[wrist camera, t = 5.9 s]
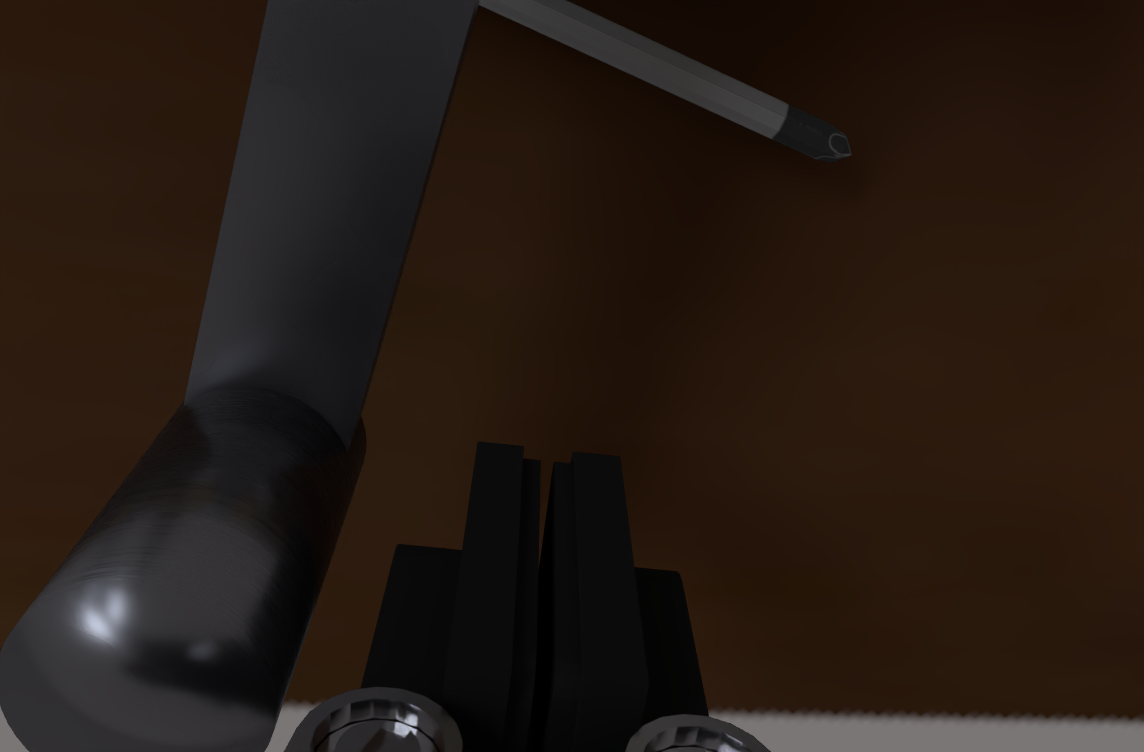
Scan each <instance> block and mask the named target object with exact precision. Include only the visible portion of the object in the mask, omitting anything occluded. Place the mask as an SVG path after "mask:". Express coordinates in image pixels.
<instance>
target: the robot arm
mask: <svg viewBox="0 0 1144 752" xmlns="http://www.w3.org/2000/svg"><path fill="white" fill-rule="evenodd" d="M523 451H524V446H515V445H506V444H496V443H487V442H478V444H477V450H476V457H475V464H474V471H473V478H472V485H471V492H470V499H469V506H468V513H467V520H466V527H465V534H464V541H463V548H462V550H454V549H444V548H434V547H424V546H414V545H404V544H398V545H397V547H396V550H395V553H394V557H393V561H392V565H391V569H390V573H389V577H388V581H387V585H386V589H385V593H384V597H383V601H382V605H381V609H380V613H379V617H378V621H377V625H376V629H375V633H374V637H373V641H372V645H371V649H370V653H369V657H368V661H367V665H366V669H365V673H364V677H363V681H362V685H361V689H356V690H351V691H348V692H345V693H343V694H340V695H337V696H334V697H332V698H329V699H328V700H326V701H325V702H323V703H322V704H320V705H319V706H317V707H316V708H314V709H313V710H311V711H310V712H309V713H308V715H307V716H306V717H305V718H304V720H303V721H302V722H301V723H300V725H299V726H298V727H297V728H296V730H295V732H294V734H293V736H292V738H291V740H290V741H289V743H288V745H287V747H286V749H285V751H284V752H771V751H769V750H768V749H767V748H766V747H765V746H764V745H763V744H762V743H760V742H759V741H758V740H757V739H756V738H755V737H754V736H752V735H750V734H749V733H747V732H745V731H743V730H742V729H740V728H738V727H736V726H734V725H733V724H731V723H727V722H724V721H721V720H718V719H715V718H711V717H709V714H708V709H707V704H706V699H705V694H704V689H703V684H702V679H701V674H700V669H699V664H698V659H697V654H696V649H695V644H694V639H693V634H692V628H691V623H690V618H689V613H688V608H687V603H686V598H685V593H684V588H683V583H682V579H681V576H680V574H679V573H678V572H677V571H667V570H657V569H647V568H637V567H634V561H633V554H632V546H631V538H630V530H629V522H628V515H627V507H626V499H625V491H624V483H623V476H622V468H621V460H620V457H619V456H610V455H600V454H591V453H582V452H573V455H572V459H571V463H561V462H554V465H553V471H552V477H551V485H550V492H549V499H548V506H547V514H546V521H545V528H544V535H543V543H542V550H541V557H540V564H539V517H540V470H541V460H532V459H523ZM538 564H539V572H538Z"/></svg>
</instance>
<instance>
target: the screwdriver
mask: <svg viewBox="0 0 1144 752" xmlns="http://www.w3.org/2000/svg"><path fill="white" fill-rule="evenodd" d="M479 5H480V6H483V7H485V8H487V9H489V10H491V11H494V12H496V13H498V14H500V15H502V16H504V17H507V18H509V19H511V20H513V21H515V22H517V23H520V24H522V25H524V26H526V27H528V28H531V29H533V30H535V31H537V32H539V33H541V34H544V35H546V36H548V37H550V38H552V39H554V40H557V41H559V42H561V43H563V44H565V45H568V46H570V47H572V48H574V49H576V50H578V51H581V52H583V53H585V54H587V55H589V56H592V57H594V58H596V59H598V60H600V61H602V62H605V63H607V64H609V65H611V66H613V67H615V68H618V69H620V70H622V71H624V72H626V73H629V74H631V75H633V76H635V77H637V78H639V79H642V80H644V81H646V82H648V83H650V84H653V85H655V86H657V87H659V88H661V89H663V90H666V91H668V92H670V93H672V94H674V95H676V96H679V97H681V98H683V99H685V100H687V101H690V102H692V103H694V104H696V105H698V106H700V107H703V108H705V109H707V110H709V111H711V112H714V113H716V114H718V115H720V116H722V117H724V118H727V119H729V120H731V121H733V122H735V123H737V124H740V125H742V126H744V127H746V128H748V129H751V130H753V131H755V132H757V133H759V134H761V135H764V136H766V137H768V138H770V139H772V140H775V141H777V142H779V143H781V144H783V145H785V146H788V147H790V148H792V149H794V150H796V151H798V152H801V153H803V154H805V155H807V156H809V157H812V158H814V159H817V160H822V161H826V162H830V163H833V162H836V161H838V160H840V159H843V158H845V157H847V156H850V155H851V151H850V147H849V143H848V139H847V136H846V135H845V134H843V133H842V132H840V131H839V130H838V129H836V128H835V127H834V126H832V125H831V124H829V123H828V122H826V121H824V120H821V119H819V118H817V117H815V116H813V115H811V114H809V113H806V112H804V111H802V110H800V109H798V108H796V107H794V106H791V105H789V104H787V103H785V102H783V101H781V100H779V99H777V98H774V97H772V96H770V95H768V94H766V93H764V92H762V91H759V90H757V89H755V88H753V87H751V86H749V85H747V84H745V83H742V82H740V81H738V80H736V79H734V78H732V77H730V76H727V75H725V74H723V73H721V72H719V71H717V70H715V69H713V68H710V67H708V66H706V65H704V64H702V63H700V62H698V61H695V60H693V59H691V58H689V57H687V56H685V55H683V54H680V53H678V52H676V51H674V50H672V49H670V48H668V47H666V46H663V45H661V44H659V43H657V42H655V41H653V40H651V39H648V38H646V37H644V36H642V35H640V34H638V33H636V32H634V31H631V30H629V29H627V28H625V27H623V26H621V25H619V24H616V23H614V22H612V21H610V20H608V19H606V18H604V17H601V16H599V15H597V14H595V13H593V12H591V11H589V10H587V9H584V8H582V7H580V6H578V5H576V4H574V3H572V2H569V1H567V0H480V2H479Z"/></svg>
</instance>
